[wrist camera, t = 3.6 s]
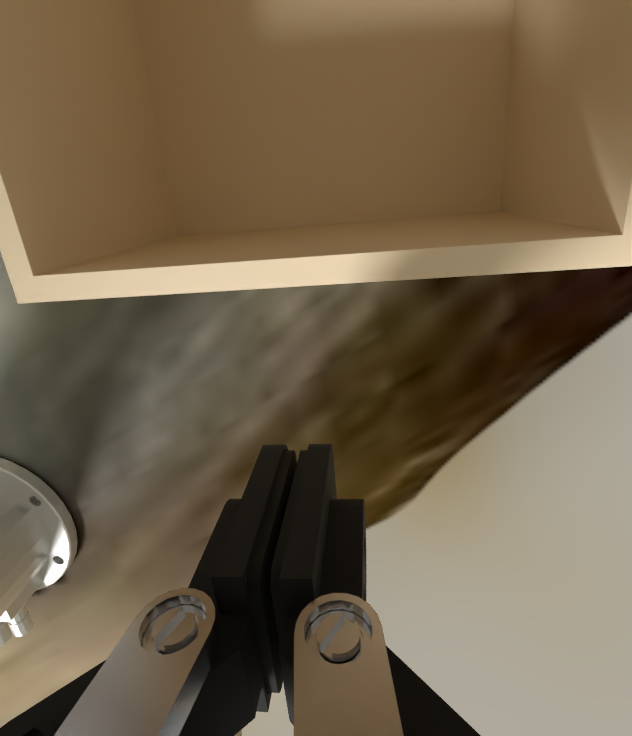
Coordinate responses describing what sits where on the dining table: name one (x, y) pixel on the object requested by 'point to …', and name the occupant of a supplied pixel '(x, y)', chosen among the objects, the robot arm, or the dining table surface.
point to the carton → (309, 142)
